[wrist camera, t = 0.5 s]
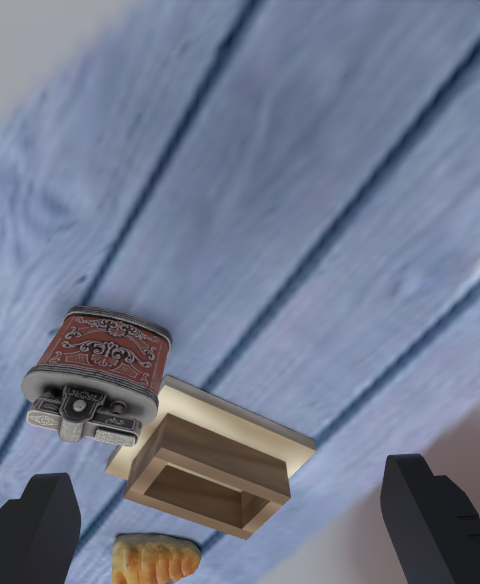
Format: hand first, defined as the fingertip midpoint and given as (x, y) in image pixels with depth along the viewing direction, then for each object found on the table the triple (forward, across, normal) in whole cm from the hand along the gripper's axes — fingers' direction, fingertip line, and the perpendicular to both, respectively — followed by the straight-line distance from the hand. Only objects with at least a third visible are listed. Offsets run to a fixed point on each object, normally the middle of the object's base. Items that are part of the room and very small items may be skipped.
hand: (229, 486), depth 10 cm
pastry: (+22, +10, +36) cm, 43 cm away
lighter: (+20, +8, +7) cm, 23 cm away
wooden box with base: (+20, +2, +20) cm, 29 cm away
